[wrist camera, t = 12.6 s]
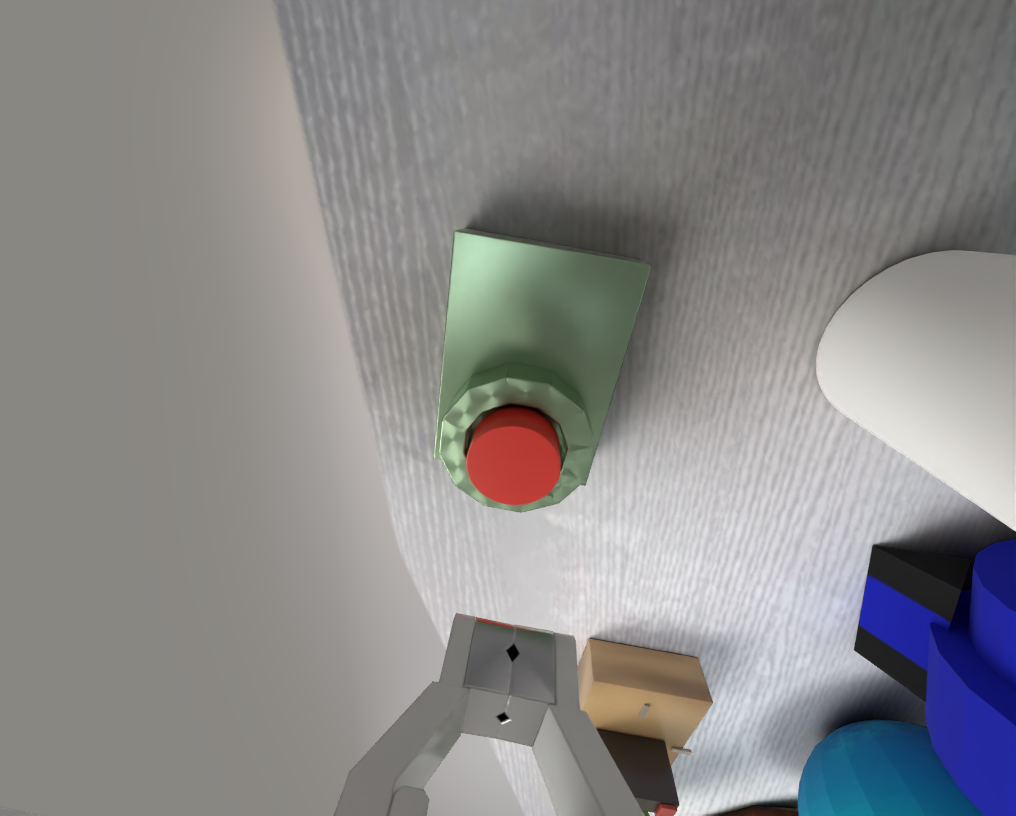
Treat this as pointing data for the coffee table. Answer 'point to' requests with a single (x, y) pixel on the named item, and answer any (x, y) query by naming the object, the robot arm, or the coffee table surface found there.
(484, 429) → the lamp button
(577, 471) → the green lamp base
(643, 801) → the knob
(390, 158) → the coffee table surface
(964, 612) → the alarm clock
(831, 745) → the decorative orb
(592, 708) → the panel
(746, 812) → the wooden boat shaped bowl
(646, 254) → the coffee table surface
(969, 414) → the bottle
